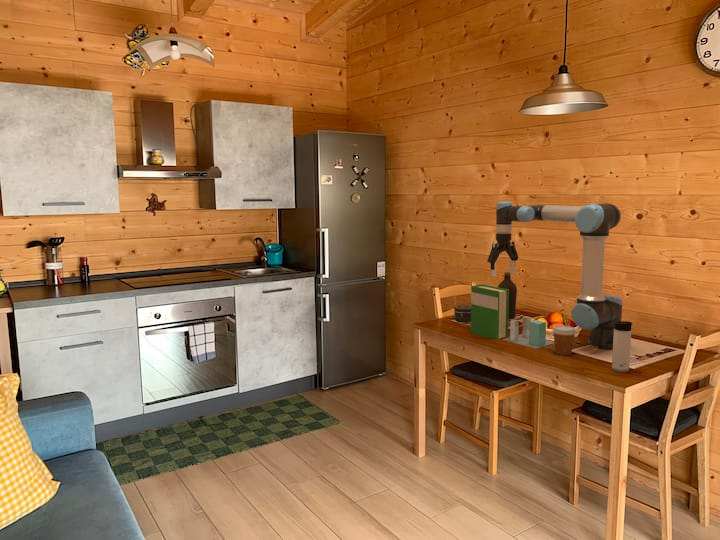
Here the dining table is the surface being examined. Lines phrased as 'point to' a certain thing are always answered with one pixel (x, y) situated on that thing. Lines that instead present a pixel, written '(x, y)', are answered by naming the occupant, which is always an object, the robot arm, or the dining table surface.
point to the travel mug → (621, 346)
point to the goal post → (525, 327)
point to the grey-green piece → (537, 333)
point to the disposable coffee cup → (563, 339)
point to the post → (514, 331)
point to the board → (526, 342)
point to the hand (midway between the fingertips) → (502, 274)
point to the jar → (462, 313)
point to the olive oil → (510, 293)
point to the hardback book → (489, 311)
